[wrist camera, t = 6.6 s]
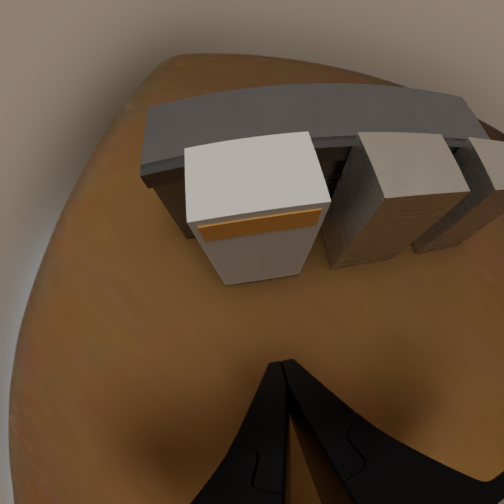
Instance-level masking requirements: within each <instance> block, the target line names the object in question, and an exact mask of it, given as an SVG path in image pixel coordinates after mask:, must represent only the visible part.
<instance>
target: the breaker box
mask: <svg viewBox="0 0 504 504" xmlns="http://www.w3.org/2000/svg"><path fill="white" fill-rule="evenodd" d="M307 131H308V132H309V135H310V138H311V140H312V143H313V146H314V149H315V152H316V155H317V158H318V161H319V164H320V167H321V170H322V173H323V176H324V179H325V182H326V185H327V189H328V192H329V195H330V199H331V204H330V206H329V209H328V211H327V213H326V216H325V218H324V220H323V223H322V225H321V231H322V235H323V239H324V243H325V247H326V251H327V255H328V260H329V264H330V269H336V268H342V267H348V266H353V265H359V264H364V263H370V262H375V261H381V260H386V259H391V258H393V257H395V256H396V255H397V254H398V253H400V252H401V251H402V250H403V249H405V248H406V247H407V246H408V245H410V244H411V243H412V244H413V247H414V250H415V254H416V253H421V252H426V251H431V250H436V249H441V248H446V247H450V246H455V245H459V244H460V243H462V242H463V241H465V240H466V239H468V238H469V237H471V236H472V235H474V234H475V233H477V232H478V231H479V230H481V229H482V228H484V227H485V226H487V225H488V224H489V223H491V222H492V221H494V220H495V219H496V218H498V217H499V216H500V215H502V214H503V213H504V142H501V141H494V140H490V139H489V137H488V135H487V134H486V132H485V130H484V129H483V127H482V126H481V124H480V123H479V121H478V120H477V118H476V117H475V115H474V114H473V112H472V111H471V109H470V108H469V107H468V105H467V104H466V102H465V101H464V100H463V98H462V97H458V96H453V95H448V94H442V93H437V92H431V91H426V90H419V89H412V88H404V87H395V86H384V85H370V84H348V83H311V84H288V85H274V86H263V87H253V88H245V89H237V90H230V91H223V92H217V93H211V94H205V95H200V96H195V97H190V98H185V99H180V100H176V101H172V102H167V103H163V104H159V105H155V106H151V107H148V110H147V117H146V124H145V132H144V140H143V149H142V159H141V170H140V177H141V178H142V180H143V181H144V183H145V184H146V186H147V187H148V189H149V188H153V189H154V190H155V192H156V193H157V195H158V196H159V198H160V199H161V201H162V202H163V204H164V205H165V207H166V208H167V210H168V211H169V213H170V214H171V216H172V217H173V219H174V220H175V222H176V223H177V225H178V226H179V228H180V229H181V231H182V232H183V234H184V235H185V237H186V238H187V239H188V238H194V237H195V235H194V234H193V232H192V231H191V229H190V227H189V226H188V224H187V217H186V195H185V157H184V148H189V147H194V146H199V145H205V144H210V143H216V142H222V141H228V140H235V139H242V138H249V137H257V136H265V135H274V134H283V133H294V132H307Z"/></svg>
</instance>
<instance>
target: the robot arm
mask: <svg viewBox="0 0 504 504" xmlns="http://www.w3.org/2000/svg"><path fill="white" fill-rule="evenodd" d="M289 413H290V416H289ZM355 413H356V412H355V411H354V410H353V409H351V408H350V407H349V406H348V405H347V404H345V403H344V402H343V401H342V400H340V399H339V398H338V397H337V396H336V395H335V394H333V393H332V392H331V391H330V390H329V389H327V388H326V387H325V386H324V385H323V384H322V383H320V382H319V381H318V380H317V379H316V378H315V377H313V376H312V375H311V374H310V373H309V372H308V371H307V370H305V369H304V368H303V367H302V366H301V365H300V364H299V363H297V362H296V361H295V360H294V359H289V360H283V361H282V363H281V362H280V361H277V362H271V363H269V364H268V366H267V368H266V371H265V373H264V375H263V378H262V380H261V382H260V385H259V387H258V389H257V391H256V394H255V396H254V398H253V400H252V403H251V405H250V407H249V409H248V411H247V414H246V416H245V418H244V420H243V422H242V424H241V426H240V429H239V431H238V433H237V435H236V436H235V438H234V440H233V443H232V445H231V446H230V448H229V450H228V452H227V454H226V456H225V457H224V459H223V460H222V462H221V463H220V465H219V466H218V468H217V469H216V471H215V472H214V474H213V475H212V476H211V478H210V479H209V480H208V482H207V483H206V484H205V486H204V487H203V488H202V490H201V491H200V492H199V493H198V495H197V496H196V497H195V499H194V500H193V501H192V502H191V504H290V497H291V465H290V417H291V420H292V423H293V426H294V429H295V432H296V435H297V438H298V440H299V443H300V446H301V449H302V452H303V454H304V457H305V460H306V463H307V465H308V468H309V471H310V474H311V476H312V479H313V482H314V485H315V487H316V490H317V493H318V496H319V498H320V501H321V504H504V471H503V472H502V473H500V474H499V475H498V476H496V477H495V478H493V479H492V480H491V481H488V482H482V481H479V480H476V479H474V478H472V477H469V476H467V475H465V474H463V473H460V472H458V471H456V470H454V469H452V468H450V467H448V466H446V465H444V464H442V463H439V462H437V461H435V460H433V459H432V458H430V457H428V456H426V455H424V454H422V453H420V452H418V451H416V450H414V449H412V448H411V447H409V446H407V445H405V444H403V443H401V442H400V441H398V440H396V439H394V438H393V437H391V436H389V435H387V434H386V433H384V432H383V431H381V430H379V429H378V428H376V427H375V426H374V425H372V424H371V423H369V422H368V421H367V420H365V419H364V418H363V417H362V416H360V415H359V414H358V413H356V414H355Z"/></svg>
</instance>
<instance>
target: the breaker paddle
mask: <svg viewBox="0 0 504 504" xmlns="http://www.w3.org/2000/svg"><path fill="white" fill-rule="evenodd" d="M184 157H185V195H186V217H187V224H188V226H189V227H190V229H191V231H192V232H193V234H194V235H195V237H196V239H197V240H198V242H199V244H200V245H201V247H202V249H203V250H204V252H205V253H206V255H207V257H208V258H209V260H210V262H211V263H212V265H213V266H214V268H215V270H216V271H217V273H218V274H219V276H220V278H221V279H222V281H223V282H224V284H225V285H232V284H239V283H246V282H253V281H259V280H266V279H272V278H279V277H285V276H291V275H297V274H300V272H301V270H302V267H303V265H304V263H305V261H306V259H307V257H308V254H309V252H310V250H311V248H312V245H313V243H314V241H315V239H316V236H317V234H318V232H319V230H320V227H321V225H322V223H323V220H324V218H325V216H326V213H327V211H328V209H329V206H330V204H331V199H330V195H329V192H328V189H327V185H326V182H325V179H324V176H323V173H322V170H321V167H320V164H319V161H318V158H317V155H316V152H315V149H314V146H313V143H312V140H311V138H310V135H309V132H308V131H307V132H294V133H283V134H274V135H265V136H257V137H249V138H242V139H235V140H228V141H222V142H216V143H210V144H205V145H199V146H194V147H189V148H184Z"/></svg>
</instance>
